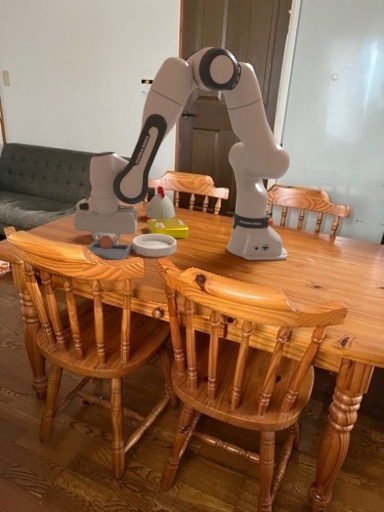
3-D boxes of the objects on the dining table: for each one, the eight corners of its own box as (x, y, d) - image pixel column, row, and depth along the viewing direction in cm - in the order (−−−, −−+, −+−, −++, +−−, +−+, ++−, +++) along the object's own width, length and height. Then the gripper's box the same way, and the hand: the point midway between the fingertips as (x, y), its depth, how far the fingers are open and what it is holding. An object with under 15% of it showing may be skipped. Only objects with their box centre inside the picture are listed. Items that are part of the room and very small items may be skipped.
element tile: (189, 238, 142) (190, 227, 140) (153, 240, 137) (153, 229, 135) (179, 227, 155) (180, 216, 153) (146, 228, 150) (146, 217, 149)
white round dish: (177, 242, 136) (177, 235, 134) (174, 258, 121) (174, 250, 120) (137, 239, 135) (137, 232, 134) (129, 255, 121) (129, 247, 120)
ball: (115, 246, 120) (114, 234, 118) (111, 251, 116) (111, 238, 114) (101, 245, 120) (101, 233, 118) (98, 250, 116) (97, 237, 114)
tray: (131, 250, 125) (131, 244, 125) (123, 265, 113) (123, 260, 112) (92, 247, 125) (92, 242, 125) (80, 263, 112) (79, 257, 112)
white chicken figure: (169, 213, 173) (170, 183, 167) (179, 221, 161) (181, 189, 156) (141, 215, 167) (142, 184, 162) (150, 223, 156) (151, 190, 150)
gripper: (139, 204, 115) (139, 243, 120) (77, 199, 115) (79, 239, 120) (136, 208, 109) (135, 249, 114) (70, 204, 109) (73, 245, 114)
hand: (106, 244), depth 117 cm, fingers closed on ball, 5 cm apart
